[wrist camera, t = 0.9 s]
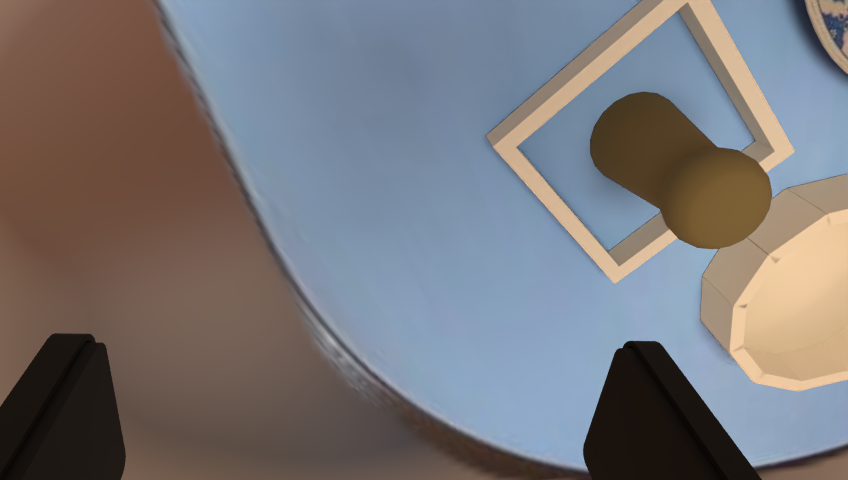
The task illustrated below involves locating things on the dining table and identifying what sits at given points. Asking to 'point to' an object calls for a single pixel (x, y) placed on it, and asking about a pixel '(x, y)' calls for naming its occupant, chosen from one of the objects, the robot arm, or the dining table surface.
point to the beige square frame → (589, 66)
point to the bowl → (786, 290)
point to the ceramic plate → (831, 27)
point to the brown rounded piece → (680, 171)
